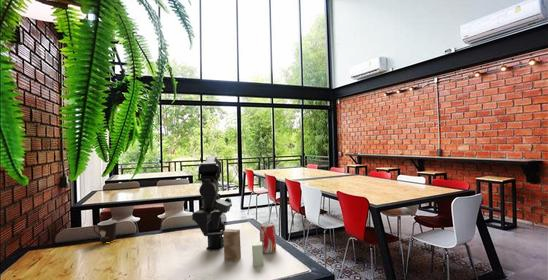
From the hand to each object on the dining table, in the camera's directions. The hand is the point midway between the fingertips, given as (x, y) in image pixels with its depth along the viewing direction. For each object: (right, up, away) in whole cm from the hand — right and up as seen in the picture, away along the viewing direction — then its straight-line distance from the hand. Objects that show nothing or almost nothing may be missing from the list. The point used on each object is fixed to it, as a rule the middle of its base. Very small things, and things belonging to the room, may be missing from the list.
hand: (211, 232), depth 114 cm
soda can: (+23, -13, +12) cm, 29 cm away
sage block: (+19, -13, 0) cm, 23 cm away
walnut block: (+8, -13, +5) cm, 16 cm away
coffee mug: (-63, -17, +36) cm, 74 cm away
